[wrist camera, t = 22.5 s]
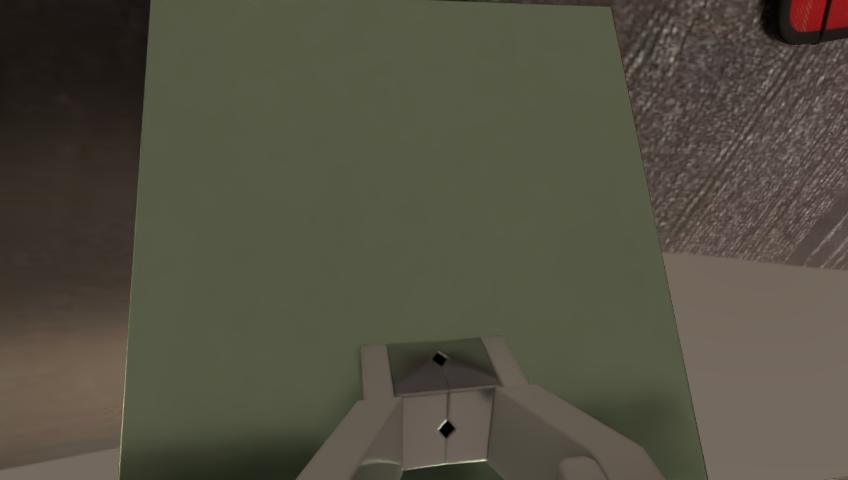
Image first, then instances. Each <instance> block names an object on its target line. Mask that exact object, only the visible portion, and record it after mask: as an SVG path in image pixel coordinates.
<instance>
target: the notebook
mask: <svg viewBox="0 0 848 480" xmlns="http://www.w3.org/2000/svg"><path fill="white" fill-rule="evenodd" d="M769 26H770V29H771V31H772V33H773V34H774V36H775V37H776V38H777V39H778V40H780V41H781V42H783V43H786V44H790V45H800V44H811V45H816V44H818V43H820V42H825V41H831V40H838V39H844V38H848V0H770V4H769Z"/></svg>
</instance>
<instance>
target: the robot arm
mask: <svg viewBox="0 0 848 480" xmlns="http://www.w3.org/2000/svg"><path fill="white" fill-rule="evenodd" d="M361 363H362V394H363V400H359V401H357V402H356V403H355V405H354V406H353V407H352V408H351V410H350V411H349V412H348V413H347V415H346V416H345V417H344V419H343V420H342V421H341V422H340V424H339V425H338V426H337V427H336V429H335V430H334V431H333V433H332V434H331V435H330V436H329V438H328V439H327V440H326V441H325V443H324V444H323V445H322V447H321V448H320V449H319V450H318V452H317V453H316V454H315V455H314V457H313V458H312V459H311V461H310V462H309V463H308V464H307V466H306V467H305V468H304V469H303V471H302V472H301V473H300V474H299V476H298V477H297V478H296V480H400V478H401V476H402V474H403V471H406V470H413V469H419V468H426V467H433V466H439V465H447V464H458V463H469V462H480V461H487V463H488V464H489V465H490V466H491V467H492V468H493V469H494V470H495V471H496V472H497V473H498V474H499V475H500V476H501V477H502V478H503V479H504V480H666V478H665V477H664V476H663V474H662V473H661V471H660V470H659V469H658V467H657V466H656V464H655V463H654V462H653V460H652V459H651V458H650V456H649V455H648V453H647V452H646V451H645V449H644V448H643V447H642V446H640V445H639V444H637V443H635V442H634V441H632V440H630V439H629V438H627V437H625V436H624V435H622V434H620V433H619V432H617V431H615V430H614V429H612V428H610V427H608V426H607V425H605V424H603V423H602V422H600V421H598V420H597V419H595V418H593V417H592V416H590V415H588V414H587V413H585V412H583V411H582V410H580V409H578V408H576V407H575V406H573V405H571V404H570V403H568V402H566V401H565V400H563V399H561V398H560V397H558V396H556V395H555V394H553V393H551V392H550V391H548V390H546V389H544V388H543V387H541V386H539V385H538V384H529V382H528V380H527V379H526V377H525V375H524V373H523V371H522V369H521V368H520V366H519V364H518V362H517V360H516V358H515V357H514V355H513V353H512V351H511V349H510V347H509V345H508V344H507V342H506V340H505V338H504V337H503V336H502V335H492V336H483V337H478V338H470V339H458V340H447V341H435V342H433V341H428V342H410V343H392V344H386V345H385V344H378V345H364V346H361ZM827 480H848V477H842V478H834V479H827Z"/></svg>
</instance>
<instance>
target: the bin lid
mask: <svg viewBox="0 0 848 480" xmlns="http://www.w3.org/2000/svg"><path fill="white" fill-rule="evenodd" d="M492 335H502V336H503V337H504V338H505V340H506V342H507V344H508V345H509V347H510V349H511V351H512V353H513V355H514V357H515V358H516V360H517V362H518V364H519V366H520V368H521V369H522V371H523V373H524V375H525V377H526V379H527V380H528V382H529V384H538V385H539V386H541V387H543V388H544V389H546V390H548V391H550V392H551V393H553V394H555V395H556V396H558V397H560V398H561V399H563V400H565V401H566V402H568V403H570V404H571V405H573V406H575V407H576V408H578V409H580V410H582V411H583V412H585V413H587V414H588V415H590V416H592V417H593V418H595V419H597V420H598V421H600V422H602V423H603V424H605V425H607V426H608V427H610V428H612V429H614V430H615V431H617V432H619V433H620V434H622V435H624V436H625V437H627V438H629V439H630V440H632V441H634V442H635V443H637V444H639V445H640V446H642V447H643V448H644V449H645V451H646V452H647V453H648V455H649V456H650V458H651V459H652V460H653V462H654V463H655V464H656V466H657V467H658V469H659V470H660V471H661V473H662V474H663V476H664V477H665V478H666V480H708V476H707V471H706V466H705V461H704V456H703V452H702V447H701V442H700V437H699V432H698V427H697V422H696V417H695V413H694V408H693V403H692V398H691V393H690V389H689V383H688V378H687V374H686V369H685V364H684V359H683V354H682V349H681V344H680V340H679V335H678V330H677V325H676V321H675V315H674V310H673V305H672V300H671V296H670V291H669V286H668V281H667V276H666V272H665V266H664V261H663V257H662V252H661V247H660V242H659V237H658V232H657V227H656V223H655V218H654V213H653V208H652V203H651V198H650V193H649V188H648V184H647V179H646V174H645V169H644V164H643V159H642V154H641V149H640V145H639V140H638V135H637V130H636V125H635V120H634V115H633V110H632V106H631V101H630V96H629V91H628V86H627V81H626V76H625V71H624V67H623V62H622V57H621V52H620V47H619V42H618V37H617V32H616V28H615V23H614V18H613V13H612V8H611V7H610V6H590V5H563V4H537V3H510V2H483V1H456V0H150V8H149V22H148V37H147V52H146V67H145V82H144V97H143V112H142V127H141V142H140V157H139V172H138V187H137V202H136V217H135V232H134V247H133V262H132V277H131V292H130V307H129V322H128V337H127V352H126V367H125V382H124V397H123V412H122V427H121V442H120V457H119V472H118V473H119V474H118V480H296V478H297V477H298V476H299V474H300V473H301V472H302V471H303V469H304V468H305V467H306V466H307V464H308V463H309V462H310V461H311V459H312V458H313V457H314V455H315V454H316V453H317V452H318V450H319V449H320V448H321V447H322V445H323V444H324V443H325V441H326V440H327V439H328V438H329V436H330V435H331V434H332V433H333V431H334V430H335V429H336V427H337V426H338V425H339V424H340V422H341V421H342V420H343V419H344V417H345V416H346V415H347V413H348V412H349V411H350V410H351V408H352V407H353V406H354V405H355V403H356V402H357V401H359V400H363V394H362V363H361V346H364V345H378V344H385V345H386V344H392V343H410V342H428V341H433V342H435V341H447V340H458V339H470V338H478V337H483V336H492ZM400 480H504V479H503V478H502V477H501V476H500V475H499V474H498V473H497V472H496V471H495V470H494V469H493V468H492V467H491V466H490V465H489V464H488V463H487V461H480V462H469V463H458V464H447V465H439V466H433V467H426V468H419V469H413V470H406V471H403V474H402V476H401V478H400Z"/></svg>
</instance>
